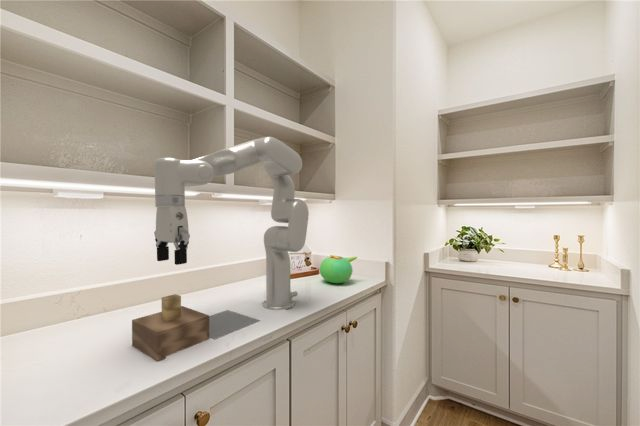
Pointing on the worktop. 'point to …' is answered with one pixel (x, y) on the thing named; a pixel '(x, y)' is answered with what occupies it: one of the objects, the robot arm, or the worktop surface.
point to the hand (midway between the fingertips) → (171, 262)
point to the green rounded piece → (336, 269)
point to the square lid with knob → (169, 329)
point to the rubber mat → (228, 323)
